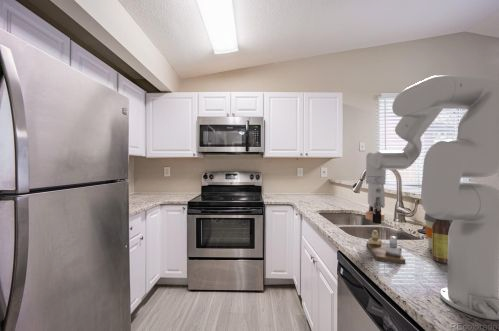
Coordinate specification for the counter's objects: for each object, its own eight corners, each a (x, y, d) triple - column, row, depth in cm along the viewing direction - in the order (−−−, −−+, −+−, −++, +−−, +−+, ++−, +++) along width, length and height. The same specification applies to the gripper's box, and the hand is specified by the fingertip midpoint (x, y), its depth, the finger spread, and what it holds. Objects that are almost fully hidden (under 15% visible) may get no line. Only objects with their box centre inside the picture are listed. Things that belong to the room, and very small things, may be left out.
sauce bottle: (457, 265, 83) (458, 210, 83) (438, 263, 84) (438, 209, 84) (446, 258, 90) (446, 207, 89) (428, 256, 91) (428, 206, 91)
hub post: (382, 247, 97) (383, 232, 97) (369, 245, 98) (369, 231, 98) (379, 243, 102) (380, 229, 102) (367, 242, 103) (367, 228, 103)
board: (405, 263, 84) (405, 259, 84) (376, 260, 87) (376, 256, 87) (390, 246, 101) (390, 243, 101) (366, 244, 104) (367, 241, 104)
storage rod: (402, 258, 85) (403, 239, 85) (387, 256, 87) (387, 238, 87) (398, 253, 90) (398, 235, 90) (384, 251, 91) (384, 234, 91)
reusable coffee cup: (446, 245, 104) (447, 212, 104) (470, 256, 92) (471, 218, 92) (417, 244, 105) (417, 211, 105) (437, 254, 93) (437, 217, 93)
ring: (385, 221, 96) (386, 215, 96) (367, 220, 98) (367, 214, 98) (381, 217, 103) (381, 211, 103) (364, 216, 105) (364, 210, 105)
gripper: (391, 182, 91) (390, 227, 91) (380, 179, 107) (379, 217, 107) (370, 181, 93) (369, 225, 93) (362, 178, 109) (361, 215, 110)
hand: (374, 220), depth 100 cm, fingers closed on ring, 7 cm apart
